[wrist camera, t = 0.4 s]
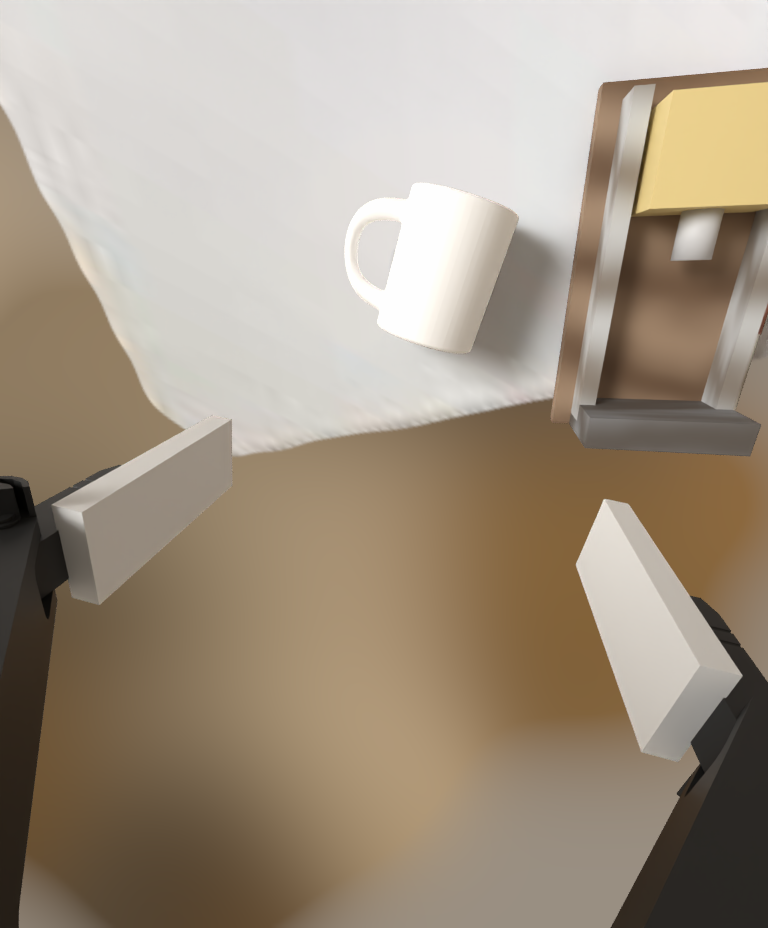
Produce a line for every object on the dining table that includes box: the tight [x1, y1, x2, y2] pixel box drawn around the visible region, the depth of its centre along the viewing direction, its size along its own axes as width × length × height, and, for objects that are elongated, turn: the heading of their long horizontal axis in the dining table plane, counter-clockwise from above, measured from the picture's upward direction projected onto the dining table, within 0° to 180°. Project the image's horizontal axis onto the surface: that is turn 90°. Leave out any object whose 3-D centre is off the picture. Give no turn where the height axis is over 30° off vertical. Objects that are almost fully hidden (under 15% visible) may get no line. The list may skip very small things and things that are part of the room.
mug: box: [345, 183, 519, 354], centre depth 33 cm, size 12×10×8 cm
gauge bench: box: [550, 68, 768, 456], centre depth 30 cm, size 24×14×7 cm, turn 1°
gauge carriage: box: [631, 82, 768, 261], centre depth 28 cm, size 9×11×4 cm
